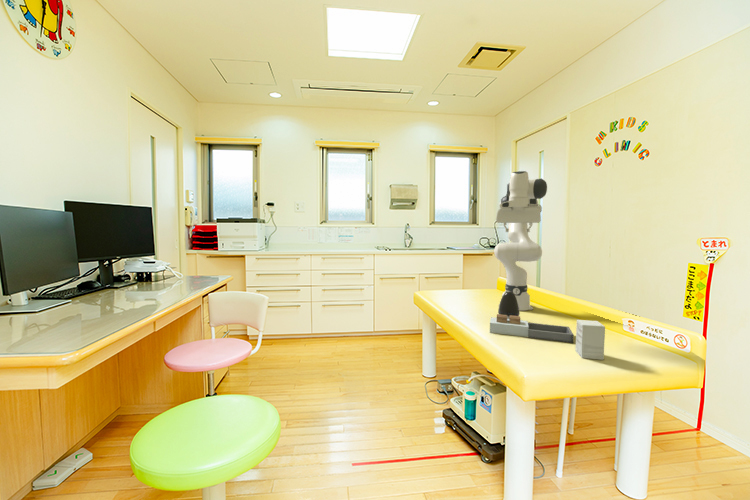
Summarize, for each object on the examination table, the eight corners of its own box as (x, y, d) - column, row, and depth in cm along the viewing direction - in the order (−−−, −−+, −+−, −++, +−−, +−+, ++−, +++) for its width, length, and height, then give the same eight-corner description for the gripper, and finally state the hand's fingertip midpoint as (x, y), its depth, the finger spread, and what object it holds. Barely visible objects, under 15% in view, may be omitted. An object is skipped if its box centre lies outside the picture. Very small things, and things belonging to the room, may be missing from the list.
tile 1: (496, 319, 155) (497, 314, 155) (507, 320, 153) (507, 315, 153) (496, 321, 151) (496, 316, 151) (507, 322, 149) (507, 317, 149)
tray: (526, 329, 154) (527, 322, 154) (568, 334, 147) (568, 326, 147) (528, 337, 143) (528, 329, 142) (573, 343, 136) (573, 334, 136)
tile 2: (509, 320, 153) (509, 315, 153) (519, 321, 151) (520, 316, 151) (509, 323, 149) (509, 317, 149) (520, 324, 147) (520, 318, 147)
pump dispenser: (515, 318, 174) (516, 289, 172) (522, 323, 163) (523, 293, 162) (495, 317, 175) (496, 289, 173) (501, 323, 164) (502, 293, 163)
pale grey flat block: (490, 326, 159) (490, 317, 159) (526, 330, 153) (527, 320, 153) (489, 332, 150) (489, 322, 149) (528, 337, 144) (528, 326, 143)
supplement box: (596, 353, 126) (598, 320, 125) (603, 360, 119) (605, 326, 118) (574, 350, 128) (576, 319, 127) (580, 358, 121) (582, 324, 120)
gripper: (541, 204, 161) (540, 232, 161) (496, 205, 168) (496, 231, 169) (542, 203, 155) (541, 232, 156) (496, 204, 162) (495, 232, 163)
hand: (517, 232), depth 162 cm, fingers open, 8 cm apart
